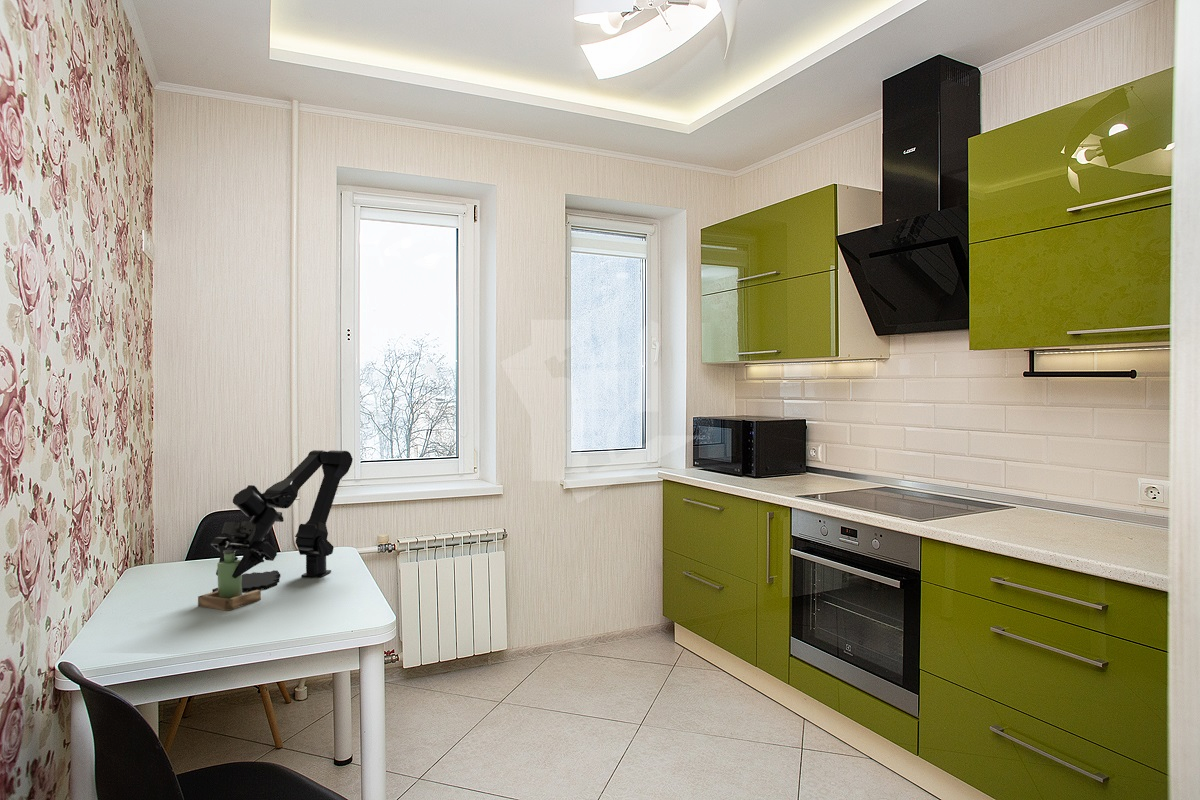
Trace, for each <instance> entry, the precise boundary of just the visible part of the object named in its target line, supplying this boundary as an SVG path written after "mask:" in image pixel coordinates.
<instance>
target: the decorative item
mask: <svg viewBox="0 0 1200 800" xmlns="http://www.w3.org/2000/svg"><path fill="white" fill-rule="evenodd" d="M280 578H281V573H280V572H279V570H275V569H274V570H272V571H263V572H255V571H254V572H253V571H252V572H251V573H246V572H244V573H243V574H242V593H248V592H252V591H255V590H269V589H270V588H273V587H276V586H277V585H278V583H280ZM215 591H218V587H215V588H213V589H212V591H211V593H212V592H215Z"/></svg>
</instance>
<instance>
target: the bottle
mask: <svg viewBox="0 0 1200 800" xmlns="http://www.w3.org/2000/svg"><path fill="white" fill-rule="evenodd" d="M234 552H235V549H225V550H223V553H224V561H222V562H219V561H218V562H217V565H216V566H217V567H216V568H217V569H218V576H217V588H218V597H220V598H227V599H230V598H233V597H236V596H239V595H242V594H243V592H242V574H241V575H240V576H238V577H237V578H234V577H232V575H233V573H234V571H235V569H236V568H237V566H238V564H239V563H240V561H241V559H237V560H235V556H236V555H235V556H234ZM217 569H216V570H217Z"/></svg>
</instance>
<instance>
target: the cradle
mask: <svg viewBox="0 0 1200 800" xmlns="http://www.w3.org/2000/svg"><path fill="white" fill-rule="evenodd" d="M261 590H262V589H261ZM261 590H253V591H250V592H244V593H242V595H239V596H236V597H233V598H230V599H227V598H220V597H218V591H215V592H212V591H211V592H210V593H205V594H203V595H199V596H197V606H198V607H200V608H201V607H202V608H209V609H215V610H221V611H228V612H229V611H233V609H236V608H240V607H243V606H246V605H249V604H251V603H255V602H258V601H260V600H262V596H261V595H262V594H261V593H262V591H261Z"/></svg>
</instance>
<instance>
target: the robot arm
mask: <svg viewBox="0 0 1200 800" xmlns="http://www.w3.org/2000/svg"><path fill="white" fill-rule="evenodd" d="M352 463H353V457H352V454H351V452H349V451H348V450H332V449H331V450H328V451H326V450H315V449H314V450H311V451H309V453H308V454H307V456H306V457H305V458H304V459H303V460H302V461H301V462H300V463H299V464H298V465H297V466H296V467H295V468H294V469H293V471H292V470H291V472H290V473H289V475H287V477H285V478H284V479H283V480H280V481H278V482H276V483H274V484H272V485H271V486H270V487H268V488H266V489H265V491H264V492H263V493H262V492H260V491H259V489H258V487H256V486H255V485H250V484H249V485H247V487H246V488H243V489H241V490H240V491H238V492H237V493H236V494H234V496H233V499H232V503H233V505H235V506H236V507H237V508H238V510H240V511H241V512H242V513H243V514H244V515H245V516H247V517H251V519H250V520H249V521H248V520H243V521H241V523H240V522H235V521H233V522H232V521H225V522H224V525H223V528H222V530H221V534H222V535H228V536H231V538H229V537H223V536H217V537H214V539H212V541H211V542H210V546H211V547H213V548H214V549H215V550H217V551H218V552H219V561H218V563H219V562H222V561H224V553H223V550H225V549H235V552H234V556H235V560H239V557H238V556H236V555H237V553H238V552H242V558H241V559H240V560H241V561H240V563H239V564H238V566H237V568H236V569H235V571H234V573H233V575H232V577H234V578H237V577H238V576H240V575H241V574H245V573H246V572H248V571H249V570H250V569H252V568H254V567H255V566H258V565H259V564H261V563H264V562H265V561H271V562H272V561H273V562H274V560H275V559H276V558H277V556H278V555H277V554H278V551H277V549H276V548H275V547H274V546H273V545H272V544H270V542H269V541H267V540H269V537H270V535H269V532H270V530H271V529H272V527H273V526H274V524H275V523H276V522H279V523H283V522H284V516H283V512H282V511H278V510H276V509H288V508H290V507H291V506H292V505H293V503H294V502H295V501H296V500H297V498H298V495H299V490H300V489H301V488H302V487H303V486H304V485H305V483H306V482H307V481H308V480H310V478H311V477H312V476H313V475H314V474H315V473H316V472H317V470H319V469H320V467H321V468H322V473H323V478H322V481H321V484H320V487H319V490H318V491H317V496H316V499H315V502H314V505H313V507H312V510H311V513H310V516H309V519H308V520H307V522H305V523H300V524H299V525H298V529H297V533H296V534H295V535H294V536H295V538H296V539H295V545H296V547H297V550H298V553H299V555H300V556H302V555H304V556H305V573H303V574H301V577H302V578H322V577H325V576H326V575H328V574H330V573H331V572H332V569H327V557H328V556H330V555H332V554H333V552H334V548H335V547H334V546H333V544H332V543H331V542H330V540H329V541H328V535H329V532H328V528H327V521H328V518H329V516H330V512H331V509H332V506H333V502H334V499H335V497H336V493H337V491H338V487H339V484H340V481H341V479H342V478H344V477H345V476H346V475H347V474H348V473H349V471H350V468H351V466H352ZM231 539H232V540H233V541H234V542H233V541H232V540H231ZM215 575H216V576H217V577H218V569H216V572H215Z"/></svg>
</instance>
